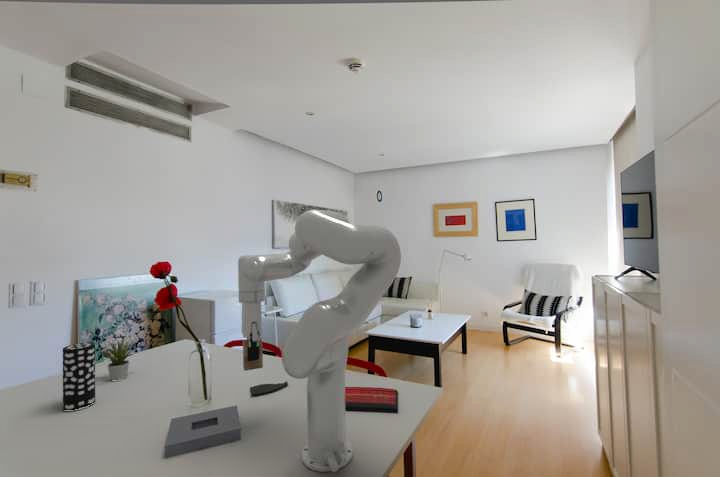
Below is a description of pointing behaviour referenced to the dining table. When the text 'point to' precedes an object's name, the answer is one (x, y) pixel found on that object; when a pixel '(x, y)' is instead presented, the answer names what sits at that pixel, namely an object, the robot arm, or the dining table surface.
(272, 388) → the curved wedge
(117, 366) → the house plant
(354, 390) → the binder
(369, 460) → the dining table surface
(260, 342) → the keyed peg
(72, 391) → the spotted tube
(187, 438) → the socket plate
